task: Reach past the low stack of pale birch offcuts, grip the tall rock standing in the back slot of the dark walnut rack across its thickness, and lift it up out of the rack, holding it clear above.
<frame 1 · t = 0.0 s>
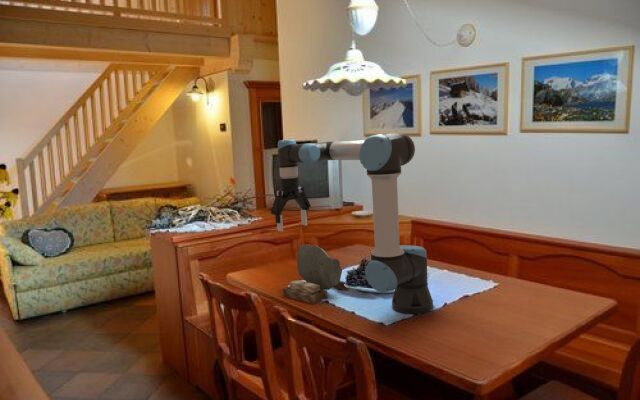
hand: (292, 227, 203), 28 cm above the table, tool pointing down, fingers open, 13 cm apart
offcut stack: (305, 297, 200), resting in walnut rack
walnut rack: (316, 292, 204), on the table
rock: (320, 291, 206), resting in walnut rack
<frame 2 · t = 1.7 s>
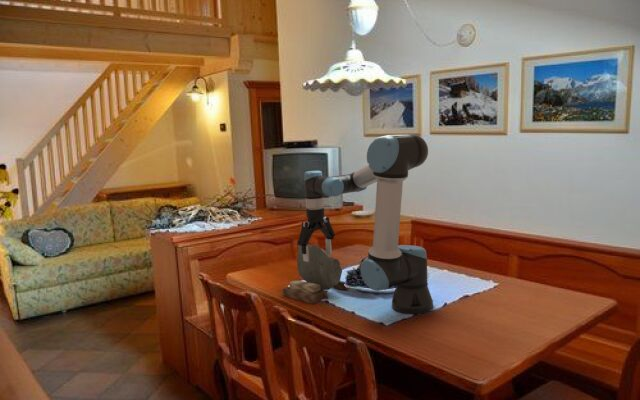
hand: (317, 257, 204), 15 cm above the table, tool pointing down, fingers open, 13 cm apart
nothing on the table moved.
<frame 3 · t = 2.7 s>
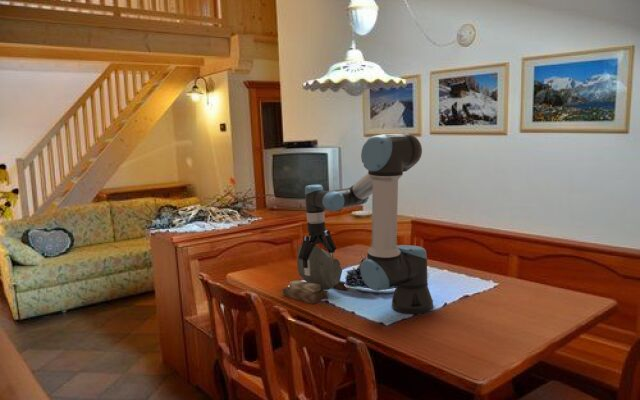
hand: (319, 271, 205), 9 cm above the table, tool pointing down, fingers open, 13 cm apart
nothing on the table moved.
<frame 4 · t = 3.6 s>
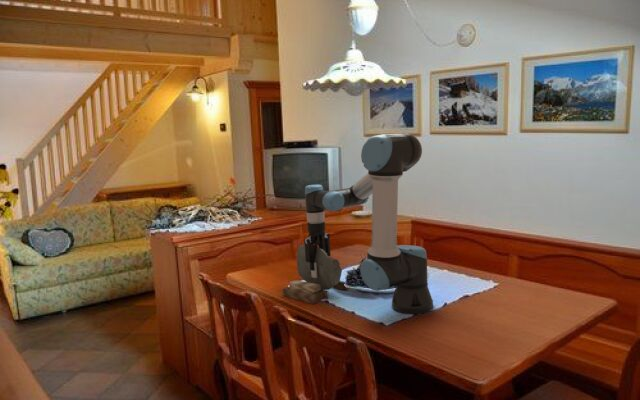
hand: (319, 275, 205), 7 cm above the table, tool pointing down, fingers closed on rock, 5 cm apart
rock: (320, 291, 206), resting in walnut rack, touching gripper
everything else where it was.
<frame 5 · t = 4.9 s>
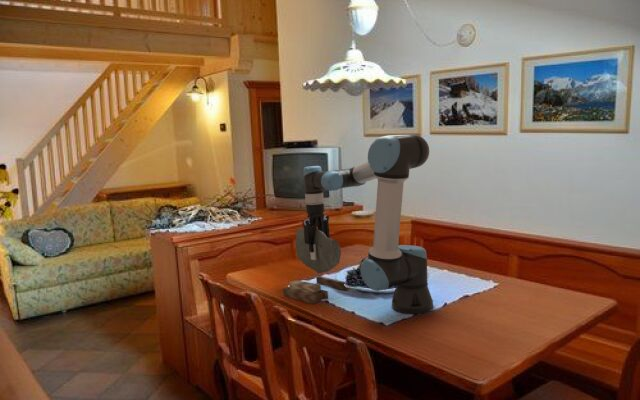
hand: (318, 257, 204), 15 cm above the table, tool pointing down, fingers closed on rock, 5 cm apart
rock: (319, 274, 205), point 8 cm above the table, touching gripper
everything else where it was.
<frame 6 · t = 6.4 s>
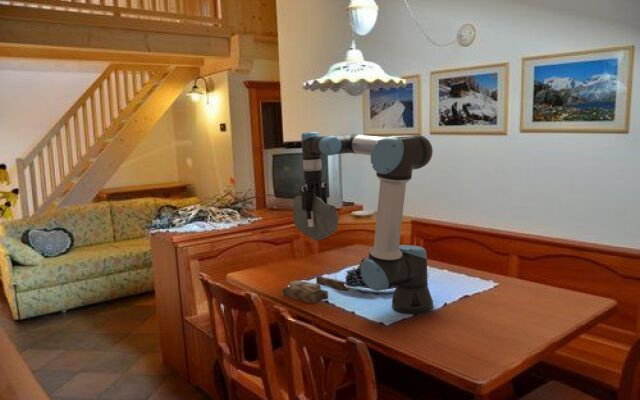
hand: (316, 225, 202), 29 cm above the table, tool pointing down, fingers closed on rock, 5 cm apart
rock: (317, 241, 203), point 22 cm above the table, touching gripper
everything else where it was.
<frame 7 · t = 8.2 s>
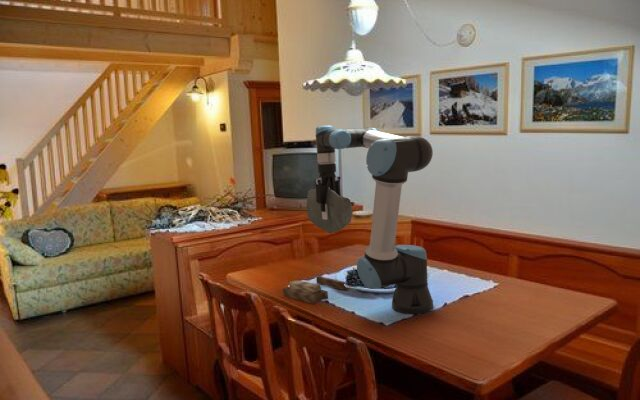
hand: (330, 217, 205), 31 cm above the table, tool pointing down, fingers closed on rock, 5 cm apart
rock: (331, 234, 206), point 24 cm above the table, touching gripper
everything else where it was.
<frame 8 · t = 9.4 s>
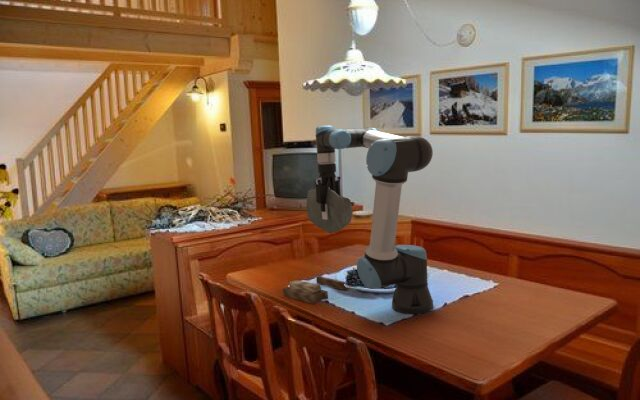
hand: (330, 217, 205), 31 cm above the table, tool pointing down, fingers closed on rock, 5 cm apart
rock: (331, 234, 206), point 24 cm above the table, touching gripper
everything else where it was.
at the end: the gripper is holding rock; rock point 23.7 cm above the table; offcut stack moved 0.2 cm from its start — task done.
